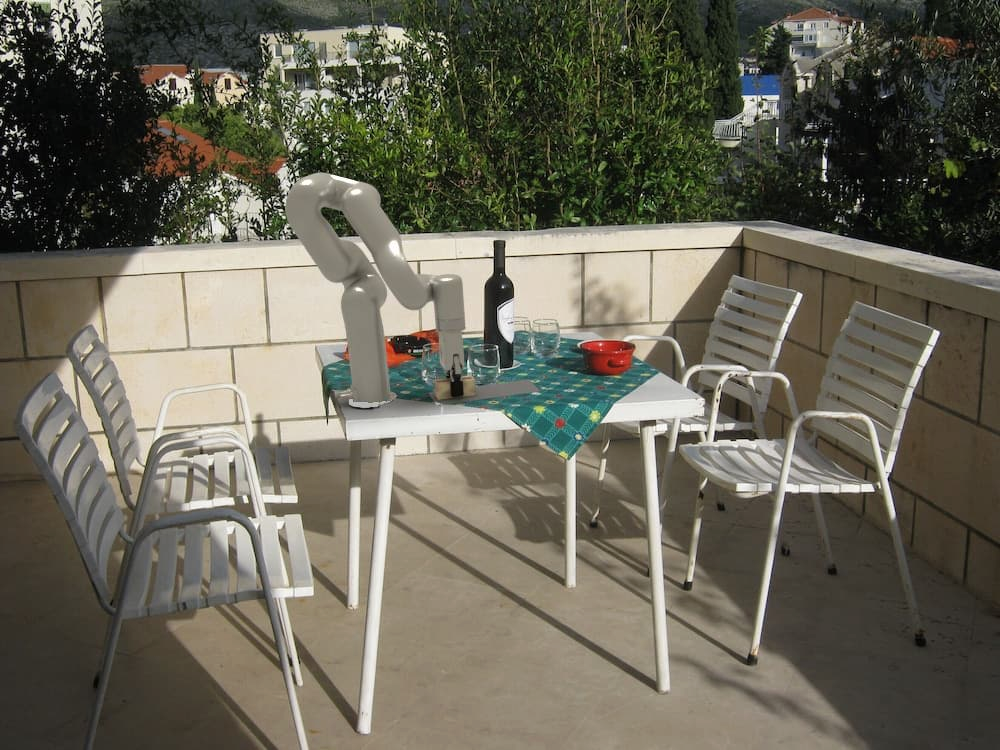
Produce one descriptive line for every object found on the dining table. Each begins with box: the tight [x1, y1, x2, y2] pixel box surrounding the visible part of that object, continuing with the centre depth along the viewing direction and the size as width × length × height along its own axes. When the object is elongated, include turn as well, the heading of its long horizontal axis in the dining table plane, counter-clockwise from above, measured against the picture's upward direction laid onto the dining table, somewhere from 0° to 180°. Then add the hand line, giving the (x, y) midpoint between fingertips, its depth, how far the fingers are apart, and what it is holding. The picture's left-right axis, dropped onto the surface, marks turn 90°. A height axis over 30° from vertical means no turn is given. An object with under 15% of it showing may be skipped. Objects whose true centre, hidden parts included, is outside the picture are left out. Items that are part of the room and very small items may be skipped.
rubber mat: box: [428, 378, 542, 405], centre depth 276 cm, size 27×12×1 cm, turn 103°
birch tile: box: [433, 374, 477, 400], centre depth 274 cm, size 10×5×4 cm, turn 103°
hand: (455, 392), depth 275 cm, fingers closed on birch tile, 5 cm apart
